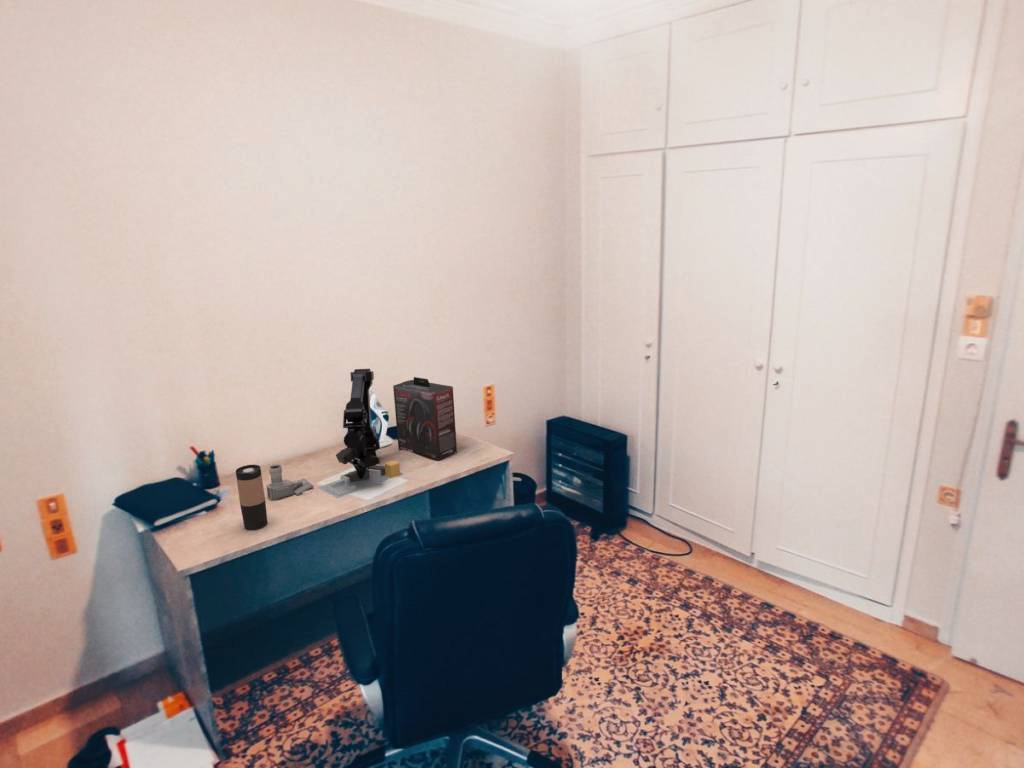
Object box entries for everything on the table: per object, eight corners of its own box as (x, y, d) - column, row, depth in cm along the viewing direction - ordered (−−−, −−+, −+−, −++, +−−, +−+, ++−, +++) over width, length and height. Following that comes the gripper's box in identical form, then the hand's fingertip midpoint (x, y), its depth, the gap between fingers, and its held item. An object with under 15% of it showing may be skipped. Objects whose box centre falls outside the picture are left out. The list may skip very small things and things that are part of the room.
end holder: (326, 490, 227) (326, 485, 227) (343, 484, 232) (343, 479, 232) (338, 496, 222) (337, 491, 221) (355, 489, 227) (355, 485, 226)
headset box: (396, 450, 269) (391, 376, 260) (417, 442, 278) (412, 370, 270) (438, 462, 254) (433, 384, 246) (458, 452, 264) (454, 378, 256)
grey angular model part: (261, 465, 224) (302, 455, 233) (265, 495, 227) (305, 484, 236) (270, 472, 217) (311, 462, 227) (273, 503, 220) (314, 491, 230)
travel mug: (248, 520, 207) (239, 465, 202) (271, 519, 208) (263, 463, 203) (240, 531, 200) (231, 474, 195) (264, 529, 201) (256, 472, 196)
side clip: (341, 481, 235) (340, 475, 234) (364, 473, 242) (363, 467, 241) (348, 485, 231) (347, 478, 231) (371, 476, 239) (370, 470, 238)
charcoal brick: (349, 479, 236) (348, 472, 236) (367, 476, 239) (366, 469, 238) (350, 482, 234) (349, 475, 233) (369, 479, 236) (368, 471, 236)
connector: (385, 475, 240) (384, 463, 238) (393, 472, 242) (393, 460, 241) (391, 478, 237) (390, 465, 236) (400, 474, 240) (399, 462, 238)
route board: (317, 489, 230) (316, 480, 229) (382, 467, 250) (381, 458, 249) (337, 500, 221) (336, 490, 220) (403, 476, 241) (402, 467, 240)
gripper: (324, 440, 231) (329, 479, 234) (352, 450, 218) (356, 491, 222) (350, 432, 238) (354, 470, 242) (378, 442, 226) (382, 481, 229)
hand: (361, 478), depth 234 cm, fingers closed
